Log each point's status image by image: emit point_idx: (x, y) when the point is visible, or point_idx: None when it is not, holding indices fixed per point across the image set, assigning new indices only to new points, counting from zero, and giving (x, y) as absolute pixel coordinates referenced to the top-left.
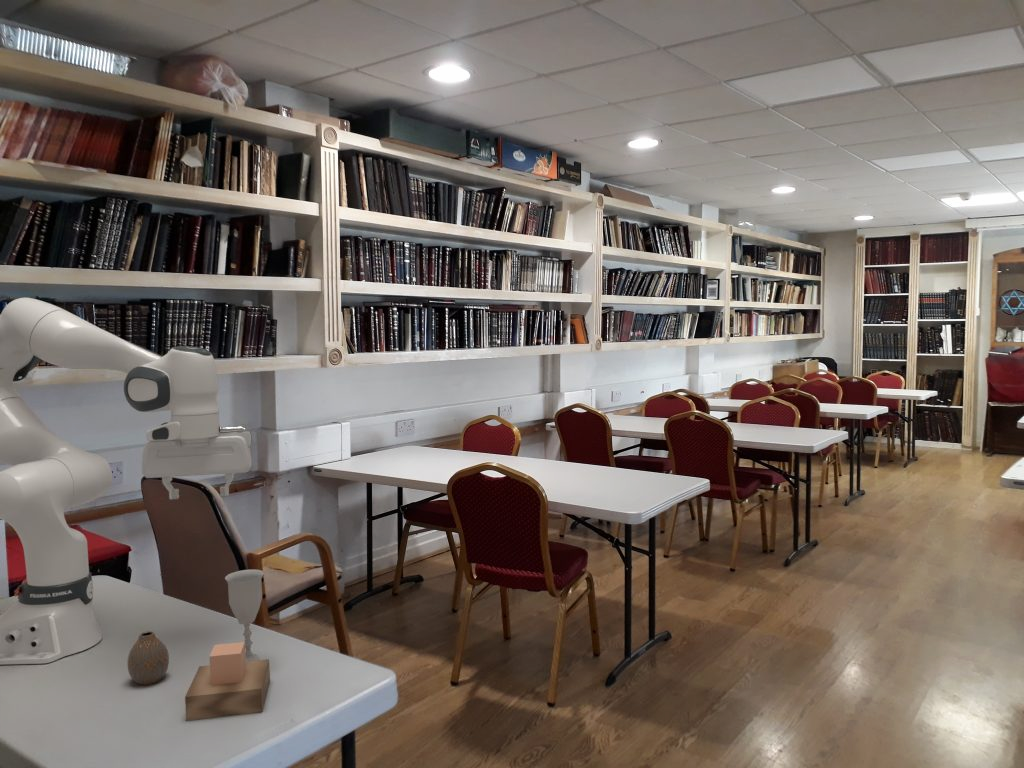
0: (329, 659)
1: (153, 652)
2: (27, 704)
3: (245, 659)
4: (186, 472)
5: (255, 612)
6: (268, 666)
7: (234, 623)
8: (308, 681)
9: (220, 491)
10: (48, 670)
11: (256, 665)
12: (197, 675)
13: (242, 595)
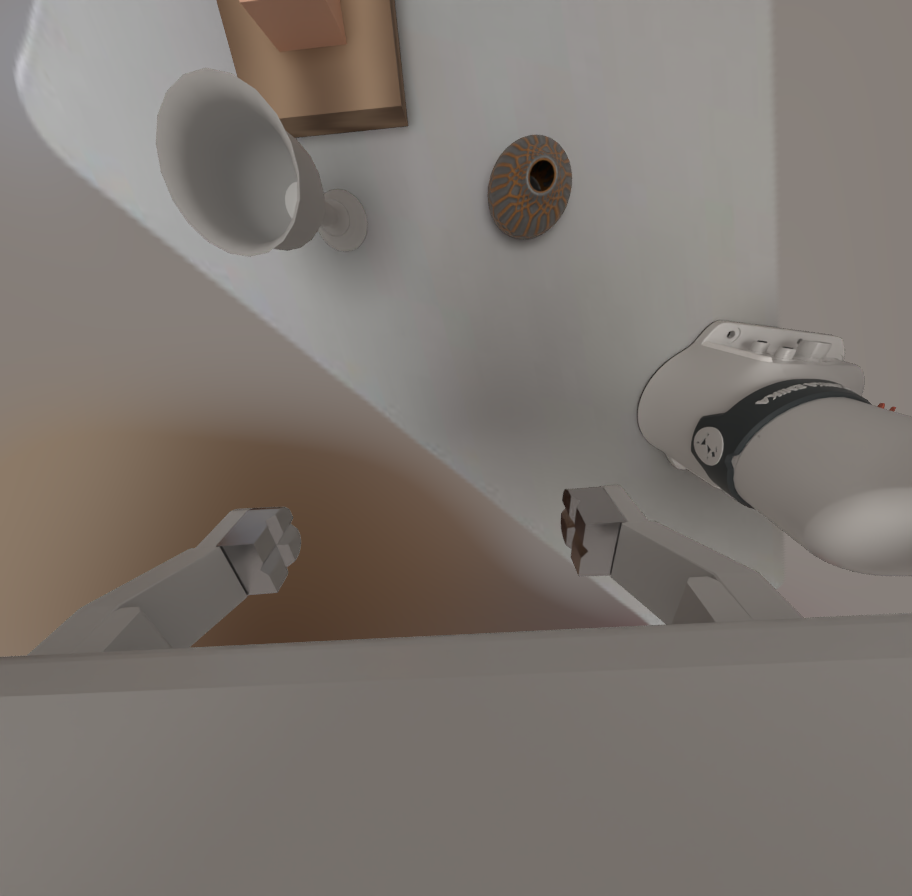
0: (196, 239)
1: (514, 147)
2: (737, 107)
3: (266, 34)
4: (519, 671)
5: (257, 176)
6: None
7: (433, 444)
8: None
9: (262, 524)
10: (710, 289)
11: (264, 79)
12: (387, 30)
13: (241, 113)
